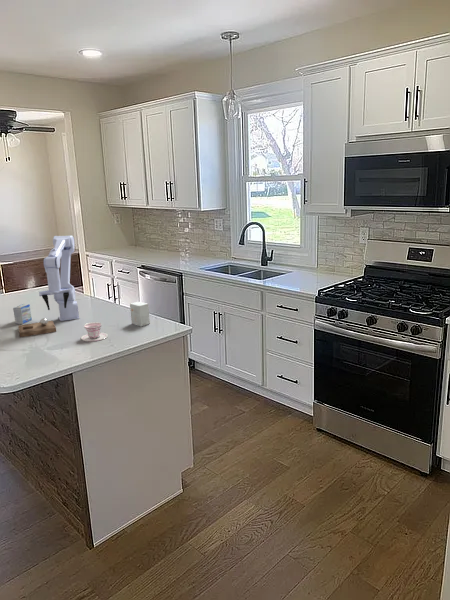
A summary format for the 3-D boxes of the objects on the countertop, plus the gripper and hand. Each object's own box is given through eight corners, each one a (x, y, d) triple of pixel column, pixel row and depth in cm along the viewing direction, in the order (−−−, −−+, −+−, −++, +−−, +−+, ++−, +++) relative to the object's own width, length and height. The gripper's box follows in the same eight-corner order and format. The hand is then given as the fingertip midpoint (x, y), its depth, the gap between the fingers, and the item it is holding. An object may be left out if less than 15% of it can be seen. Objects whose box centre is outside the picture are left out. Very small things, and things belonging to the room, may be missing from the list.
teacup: (80, 335, 215) (78, 323, 214) (106, 332, 219) (105, 319, 218) (81, 343, 204) (80, 330, 203) (109, 339, 208) (108, 326, 207)
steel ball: (47, 323, 228) (46, 317, 227) (48, 325, 225) (47, 318, 224) (40, 325, 226) (39, 318, 226) (40, 326, 223) (40, 319, 222)
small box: (150, 324, 230) (148, 303, 227) (141, 326, 226) (139, 305, 223) (140, 321, 235) (138, 301, 232) (131, 323, 231) (129, 303, 228)
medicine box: (22, 324, 236) (20, 307, 234) (15, 324, 237) (12, 307, 235) (32, 319, 243) (29, 303, 241) (24, 319, 244) (22, 303, 242)
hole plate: (53, 324, 234) (52, 320, 234) (56, 331, 222) (55, 327, 221) (18, 329, 227) (18, 325, 227) (20, 337, 215) (19, 333, 215)
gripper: (38, 284, 217) (41, 312, 220) (70, 281, 223) (73, 308, 226) (37, 282, 223) (40, 309, 226) (68, 278, 229) (71, 305, 232)
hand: (57, 308), depth 227 cm, fingers open, 7 cm apart
